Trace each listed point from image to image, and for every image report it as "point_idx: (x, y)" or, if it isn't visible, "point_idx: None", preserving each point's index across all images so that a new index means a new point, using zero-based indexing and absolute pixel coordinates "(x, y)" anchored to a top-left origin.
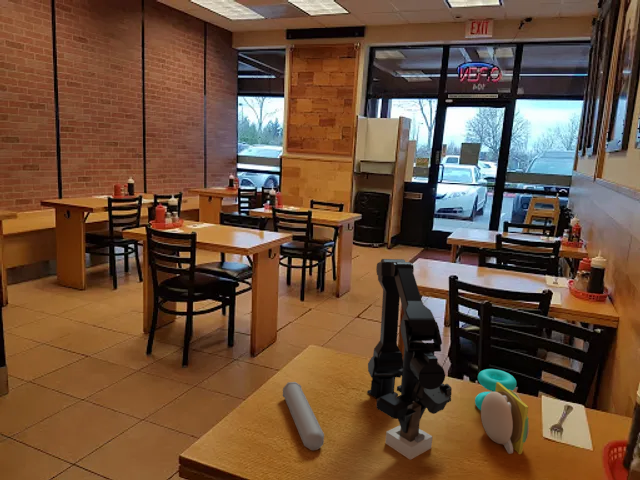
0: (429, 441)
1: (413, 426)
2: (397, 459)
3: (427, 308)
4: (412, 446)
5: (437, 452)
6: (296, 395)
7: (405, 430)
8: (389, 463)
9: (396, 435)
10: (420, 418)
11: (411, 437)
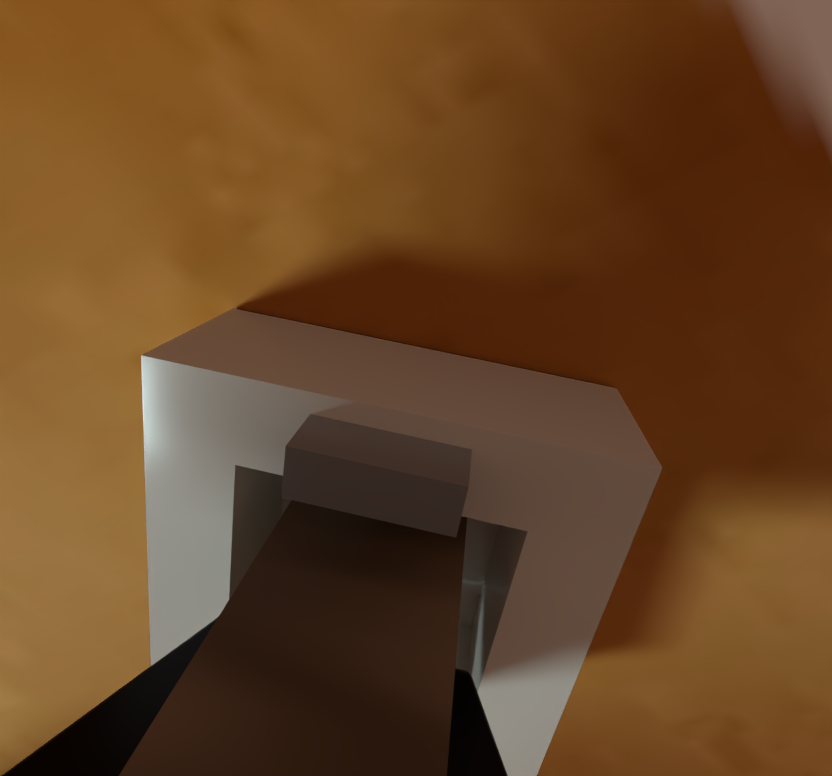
0: (232, 349)
1: (375, 725)
2: (700, 491)
3: None
4: (617, 468)
5: (246, 209)
6: None
7: (485, 730)
8: (829, 523)
9: (514, 707)
10: (60, 752)
11: (431, 565)
